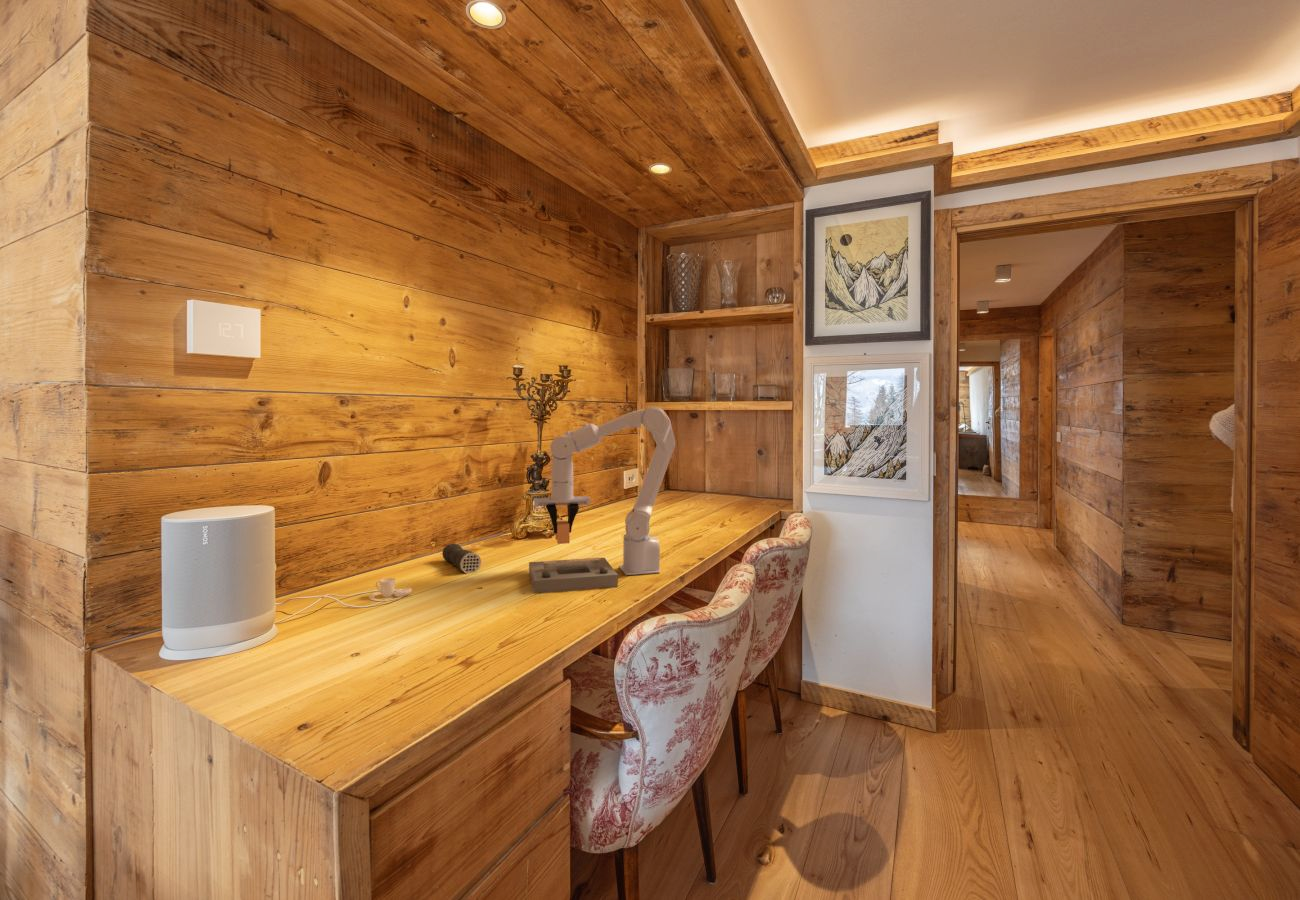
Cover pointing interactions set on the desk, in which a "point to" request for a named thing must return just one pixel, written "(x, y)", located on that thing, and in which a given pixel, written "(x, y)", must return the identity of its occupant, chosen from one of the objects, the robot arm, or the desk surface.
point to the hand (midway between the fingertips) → (562, 532)
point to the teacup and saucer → (389, 590)
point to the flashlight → (462, 558)
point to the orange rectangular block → (562, 532)
